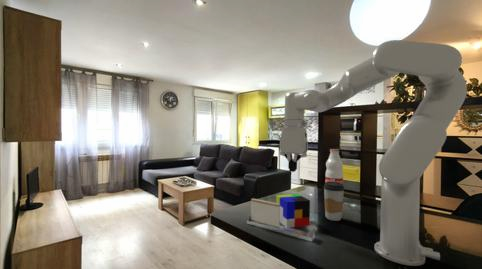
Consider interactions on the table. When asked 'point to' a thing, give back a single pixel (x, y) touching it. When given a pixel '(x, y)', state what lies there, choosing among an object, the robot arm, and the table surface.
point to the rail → (284, 230)
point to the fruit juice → (334, 167)
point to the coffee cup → (333, 200)
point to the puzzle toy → (294, 210)
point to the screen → (265, 212)
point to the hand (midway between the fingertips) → (292, 171)
